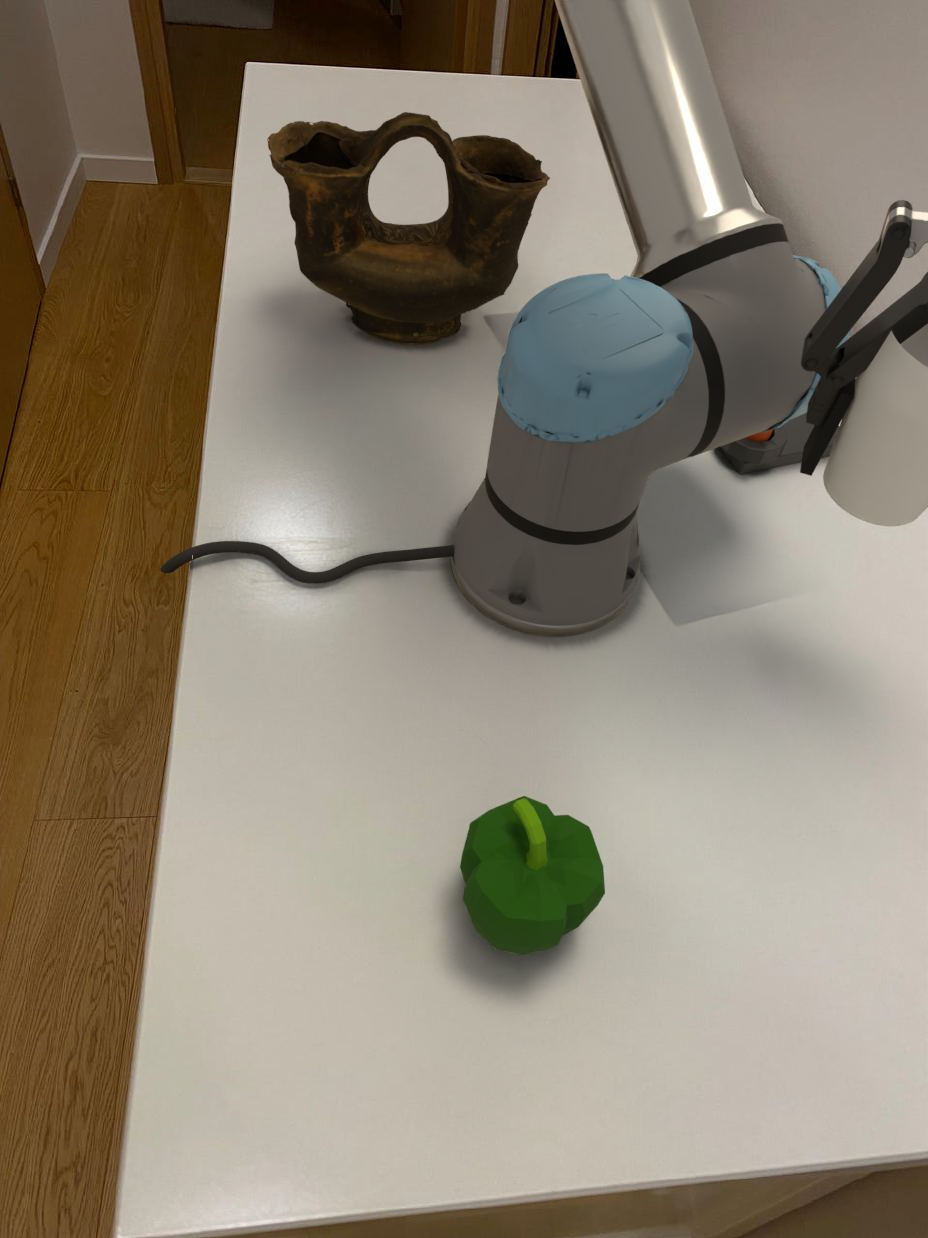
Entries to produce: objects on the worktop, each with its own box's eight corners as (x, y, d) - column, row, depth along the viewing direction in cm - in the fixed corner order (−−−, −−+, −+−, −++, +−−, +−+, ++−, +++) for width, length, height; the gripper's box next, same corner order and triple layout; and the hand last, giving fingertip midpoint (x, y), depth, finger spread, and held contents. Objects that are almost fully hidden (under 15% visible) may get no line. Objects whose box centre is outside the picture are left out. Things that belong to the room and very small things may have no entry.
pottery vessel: (274, 344, 92) (259, 137, 76) (280, 280, 98) (268, 77, 83) (529, 355, 95) (565, 157, 79) (518, 292, 101) (549, 98, 86)
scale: (733, 480, 86) (744, 455, 84) (659, 381, 94) (668, 356, 92) (849, 455, 90) (863, 431, 87) (769, 362, 98) (779, 338, 95)
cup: (945, 556, 59) (1059, 407, 50) (803, 522, 60) (889, 368, 51) (934, 462, 65) (1035, 311, 56) (804, 432, 66) (882, 277, 56)
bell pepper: (593, 971, 57) (632, 910, 50) (458, 978, 56) (476, 917, 49) (572, 842, 63) (605, 768, 55) (449, 846, 62) (463, 771, 54)
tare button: (748, 445, 85) (754, 430, 84) (731, 423, 87) (737, 408, 86) (776, 439, 86) (783, 425, 85) (759, 418, 88) (765, 403, 86)
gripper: (1316, 152, 45) (1040, 491, 63) (870, 46, 47) (726, 401, 65) (1357, 229, 41) (1047, 570, 58) (861, 107, 43) (709, 471, 61)
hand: (877, 481), depth 62 cm, fingers closed on cup, 9 cm apart
